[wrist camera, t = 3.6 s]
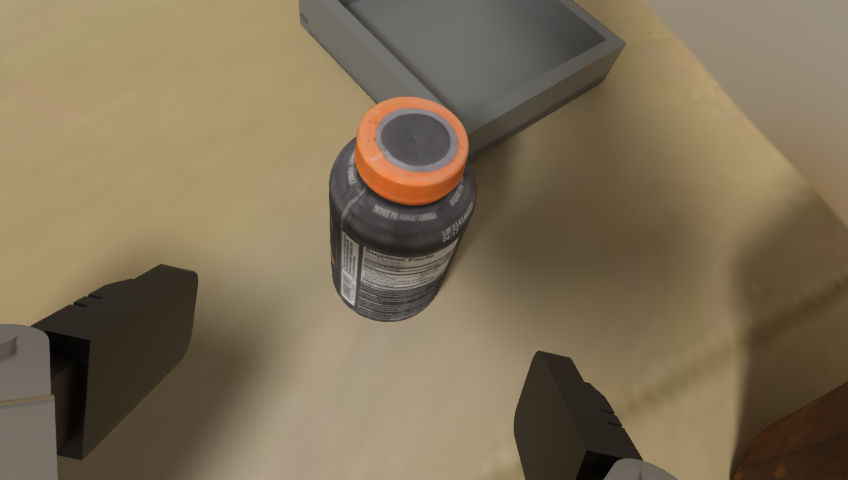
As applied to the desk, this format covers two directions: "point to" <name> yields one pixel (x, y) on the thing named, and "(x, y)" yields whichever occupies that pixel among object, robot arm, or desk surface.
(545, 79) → the tray
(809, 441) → the brown tapered container
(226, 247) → the desk surface
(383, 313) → the pill bottle
